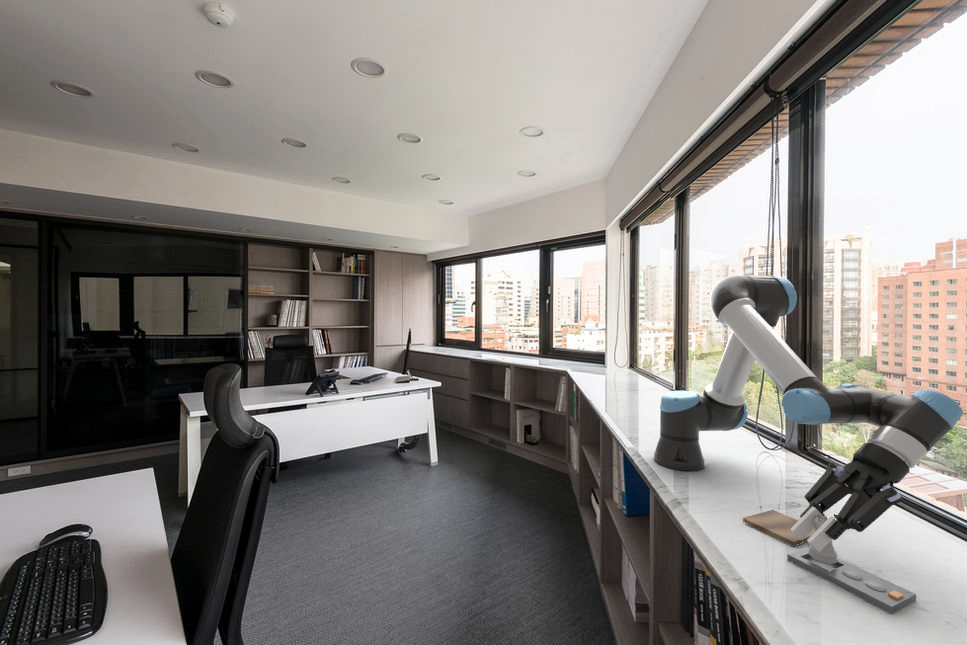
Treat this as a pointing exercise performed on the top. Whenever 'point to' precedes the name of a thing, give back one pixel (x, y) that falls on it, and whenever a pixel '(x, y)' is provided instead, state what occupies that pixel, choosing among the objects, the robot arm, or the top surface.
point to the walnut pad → (776, 526)
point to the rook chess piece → (828, 551)
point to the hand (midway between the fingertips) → (804, 540)
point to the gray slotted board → (858, 582)
